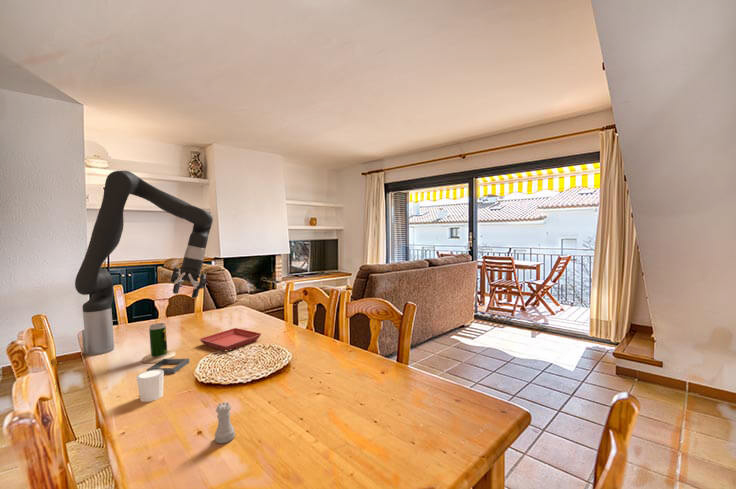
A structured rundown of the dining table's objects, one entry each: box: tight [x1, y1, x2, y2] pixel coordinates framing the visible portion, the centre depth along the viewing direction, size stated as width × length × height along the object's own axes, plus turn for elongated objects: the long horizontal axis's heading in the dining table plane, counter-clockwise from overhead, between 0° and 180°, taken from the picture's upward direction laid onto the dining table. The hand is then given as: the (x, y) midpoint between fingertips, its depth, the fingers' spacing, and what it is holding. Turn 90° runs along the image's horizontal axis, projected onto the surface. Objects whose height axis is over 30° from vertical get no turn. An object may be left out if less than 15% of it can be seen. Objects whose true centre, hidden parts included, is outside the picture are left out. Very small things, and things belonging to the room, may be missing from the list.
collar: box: [146, 358, 190, 375], centre depth 124 cm, size 10×10×2 cm
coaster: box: [141, 350, 177, 364], centre depth 134 cm, size 11×11×1 cm
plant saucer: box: [199, 327, 262, 351], centre depth 149 cm, size 18×18×3 cm
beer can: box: [148, 322, 168, 358], centre depth 134 cm, size 5×5×12 cm
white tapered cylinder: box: [135, 369, 165, 403], centre depth 102 cm, size 7×7×7 cm
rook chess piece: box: [214, 401, 236, 444], centre depth 81 cm, size 4×4×8 cm
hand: (184, 295), depth 146 cm, fingers open, 8 cm apart
